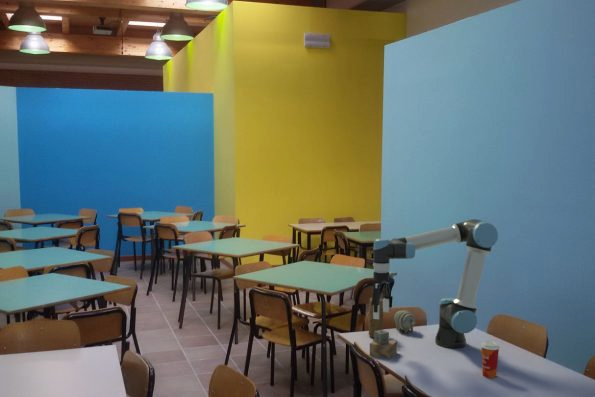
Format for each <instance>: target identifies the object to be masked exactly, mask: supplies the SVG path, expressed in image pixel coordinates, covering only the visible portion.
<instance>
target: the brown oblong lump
mask: <svg viewBox="0 0 595 397" xmlns="http://www.w3.org/2000/svg"><path fill="white" fill-rule="evenodd" d="M371 303H372V297H370V298H369V303H368V305H369V306H368V336H369V337H370V338H374V331H378V330H384V312H383V298H382V297H380V301H379V319H373V305H371Z"/></svg>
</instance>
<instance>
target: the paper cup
mask: <svg viewBox="0 0 595 397" xmlns="http://www.w3.org/2000/svg"><path fill="white" fill-rule="evenodd" d="M480 348H481V370H482V376H483V377H484V378H487V379H494V378H496V377H497V372H498V363H499V360H498V359H499V350H500V345H499V344H498V342H494V341H482V342H481V344H480Z"/></svg>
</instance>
